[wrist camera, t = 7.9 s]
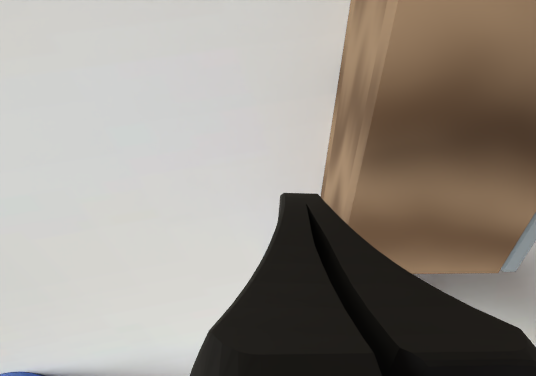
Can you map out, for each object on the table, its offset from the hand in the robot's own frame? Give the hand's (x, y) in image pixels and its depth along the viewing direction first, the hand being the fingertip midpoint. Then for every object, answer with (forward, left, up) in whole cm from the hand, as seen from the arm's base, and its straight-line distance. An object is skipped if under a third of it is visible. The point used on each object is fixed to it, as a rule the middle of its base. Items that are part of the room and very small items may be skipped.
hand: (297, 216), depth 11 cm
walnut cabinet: (+2, -8, -9) cm, 13 cm away
